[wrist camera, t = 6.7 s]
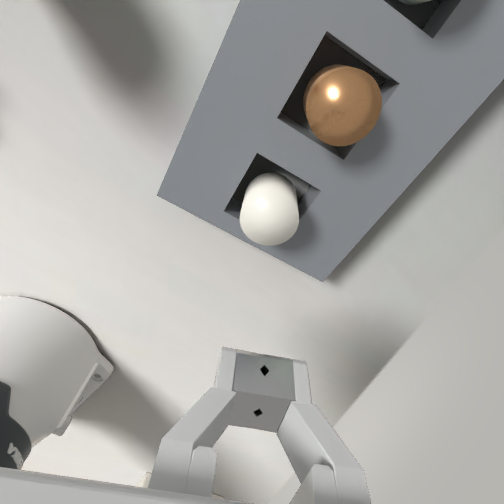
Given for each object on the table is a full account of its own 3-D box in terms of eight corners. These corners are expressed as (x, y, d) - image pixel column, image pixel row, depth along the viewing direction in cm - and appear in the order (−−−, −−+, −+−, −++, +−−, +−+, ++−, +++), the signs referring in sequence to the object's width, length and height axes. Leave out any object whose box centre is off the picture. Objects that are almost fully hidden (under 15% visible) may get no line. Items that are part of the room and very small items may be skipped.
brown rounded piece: (339, 142, 23) (349, 159, 19) (291, 111, 22) (293, 123, 18) (379, 86, 21) (398, 94, 17) (327, 50, 20) (337, 51, 16)
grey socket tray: (319, 262, 30) (322, 282, 28) (168, 181, 27) (156, 195, 25) (567, -31, 19) (612, -44, 16) (351, -237, 15) (365, -293, 13)
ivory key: (278, 229, 27) (278, 254, 23) (235, 205, 26) (229, 229, 22) (306, 189, 25) (310, 211, 21) (261, 162, 24) (258, 181, 20)
